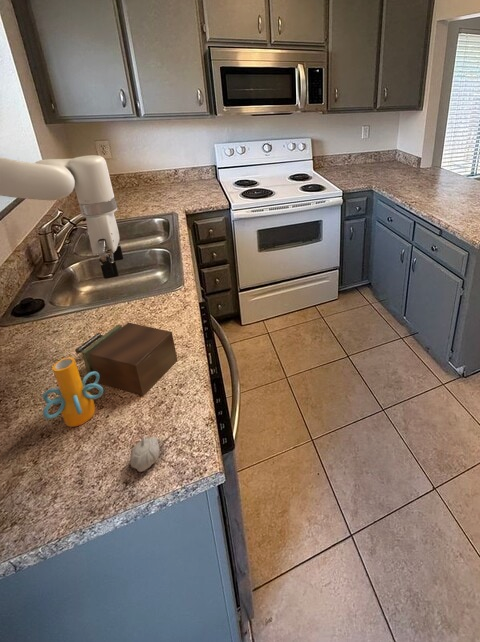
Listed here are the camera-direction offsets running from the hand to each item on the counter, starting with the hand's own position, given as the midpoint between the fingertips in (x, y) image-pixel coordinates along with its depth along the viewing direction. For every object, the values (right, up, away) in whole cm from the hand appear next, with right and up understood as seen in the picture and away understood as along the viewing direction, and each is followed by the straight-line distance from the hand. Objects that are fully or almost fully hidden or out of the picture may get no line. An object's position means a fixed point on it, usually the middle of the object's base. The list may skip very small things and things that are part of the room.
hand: (114, 268), depth 93 cm
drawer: (-1, -26, +3) cm, 27 cm away
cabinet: (+6, -28, +2) cm, 28 cm away
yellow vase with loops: (-1, -33, -11) cm, 34 cm away
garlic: (+19, -36, -21) cm, 46 cm away
